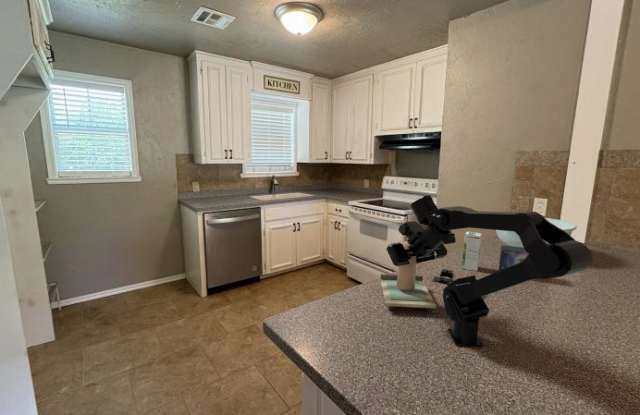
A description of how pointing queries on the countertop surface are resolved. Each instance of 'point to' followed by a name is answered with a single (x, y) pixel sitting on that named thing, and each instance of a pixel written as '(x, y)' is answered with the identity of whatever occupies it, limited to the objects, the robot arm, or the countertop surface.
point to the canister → (406, 272)
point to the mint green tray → (406, 294)
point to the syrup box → (471, 251)
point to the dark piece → (444, 274)
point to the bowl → (514, 240)
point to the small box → (511, 256)
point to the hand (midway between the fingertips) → (403, 263)
